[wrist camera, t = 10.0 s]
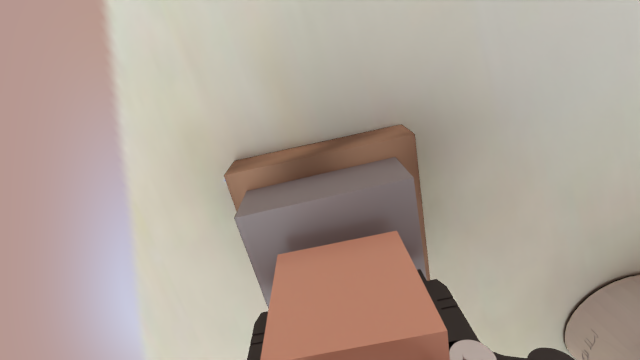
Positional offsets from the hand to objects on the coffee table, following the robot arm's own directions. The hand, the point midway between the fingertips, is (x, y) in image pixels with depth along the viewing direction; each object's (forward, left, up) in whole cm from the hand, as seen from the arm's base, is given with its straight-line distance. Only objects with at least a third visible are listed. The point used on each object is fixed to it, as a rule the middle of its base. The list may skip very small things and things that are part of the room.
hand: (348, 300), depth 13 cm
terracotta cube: (0, 0, -1) cm, 1 cm away
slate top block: (0, 0, -5) cm, 5 cm away
